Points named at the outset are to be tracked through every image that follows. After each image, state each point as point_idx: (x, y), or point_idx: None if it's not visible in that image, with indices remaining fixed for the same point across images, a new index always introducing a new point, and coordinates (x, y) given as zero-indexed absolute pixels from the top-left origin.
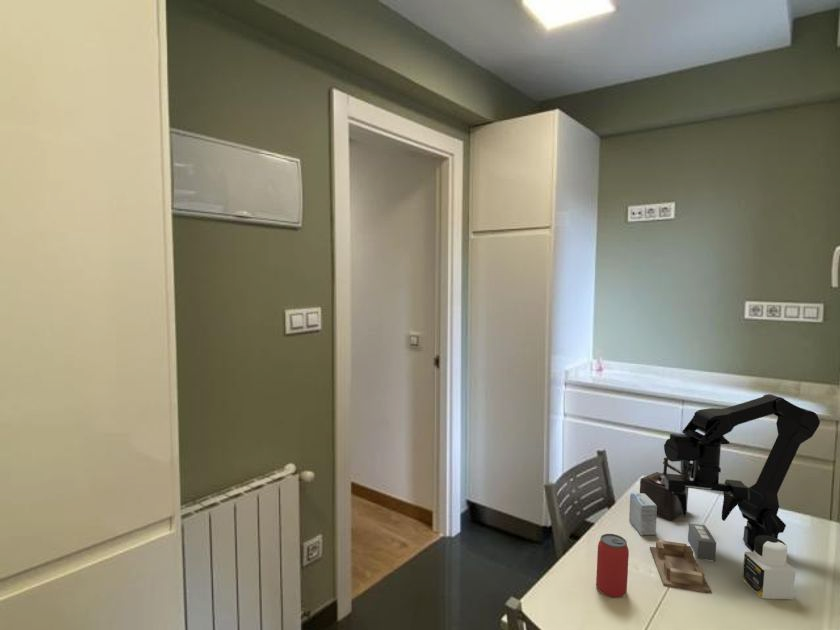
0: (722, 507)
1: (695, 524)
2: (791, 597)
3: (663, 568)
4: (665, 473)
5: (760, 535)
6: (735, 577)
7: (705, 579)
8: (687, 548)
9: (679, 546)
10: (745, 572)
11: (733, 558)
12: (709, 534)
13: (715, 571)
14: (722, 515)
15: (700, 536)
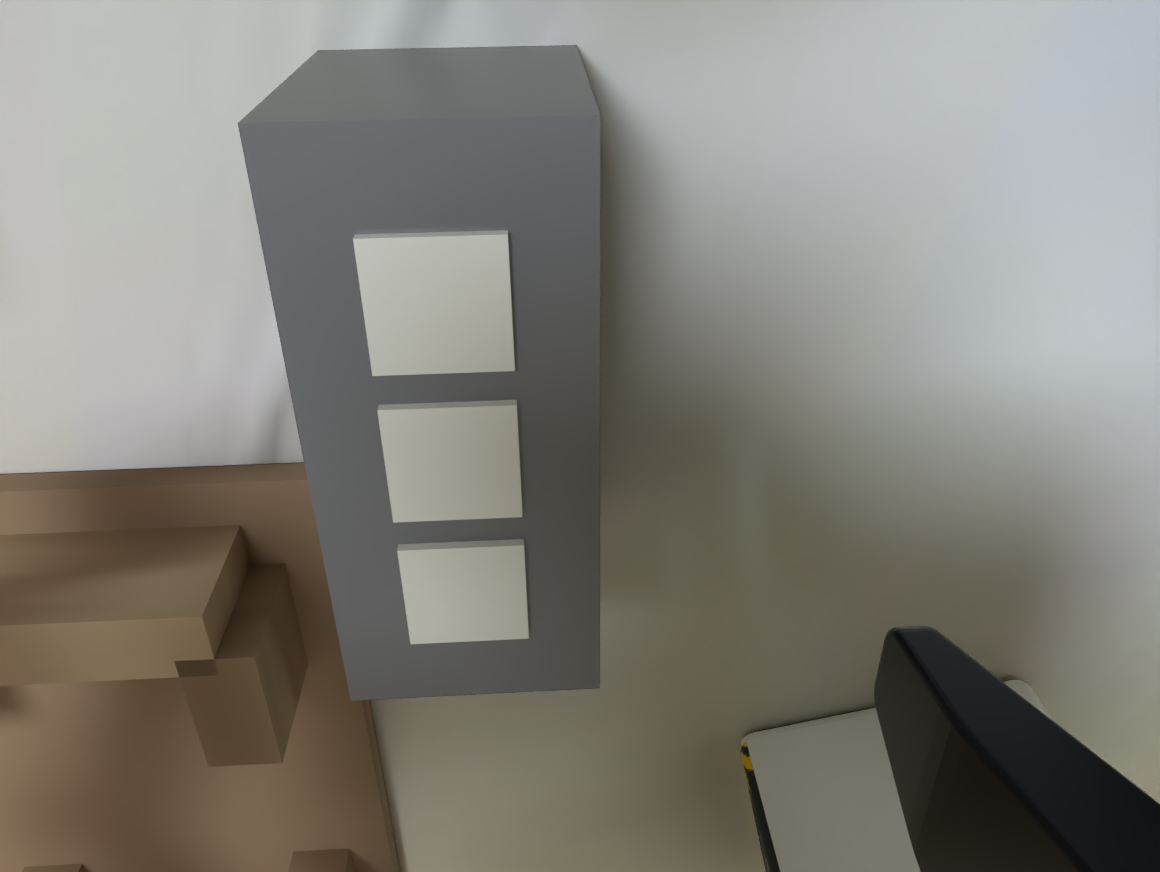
0: (1067, 858)
1: (383, 138)
2: None
3: (16, 829)
4: None
5: None
6: (688, 717)
7: (389, 859)
8: (215, 711)
9: (117, 670)
10: (763, 845)
11: (837, 393)
12: (569, 490)
13: None
14: (922, 746)
15: (398, 590)
